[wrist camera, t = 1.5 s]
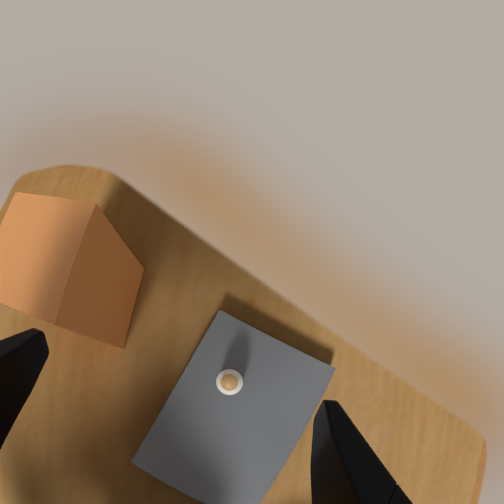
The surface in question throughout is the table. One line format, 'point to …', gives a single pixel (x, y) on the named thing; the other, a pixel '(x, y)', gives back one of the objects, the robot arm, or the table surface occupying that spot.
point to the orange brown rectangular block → (68, 267)
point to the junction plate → (233, 415)
